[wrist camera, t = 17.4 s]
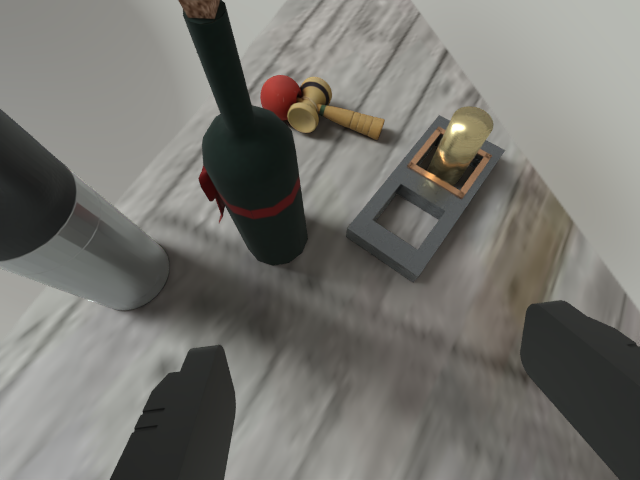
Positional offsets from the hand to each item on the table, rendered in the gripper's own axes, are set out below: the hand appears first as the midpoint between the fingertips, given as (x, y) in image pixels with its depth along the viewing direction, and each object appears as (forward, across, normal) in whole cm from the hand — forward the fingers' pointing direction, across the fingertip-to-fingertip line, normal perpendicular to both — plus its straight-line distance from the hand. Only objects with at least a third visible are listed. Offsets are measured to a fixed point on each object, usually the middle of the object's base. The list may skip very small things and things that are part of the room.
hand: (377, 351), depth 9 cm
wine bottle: (+34, +6, +9) cm, 36 cm away
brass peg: (+39, -18, +5) cm, 43 cm away
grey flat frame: (+36, -15, +7) cm, 40 cm away
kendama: (+47, -3, -3) cm, 47 cm away
